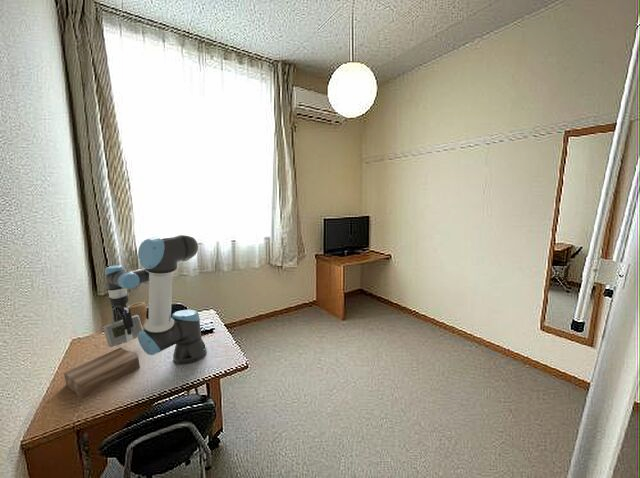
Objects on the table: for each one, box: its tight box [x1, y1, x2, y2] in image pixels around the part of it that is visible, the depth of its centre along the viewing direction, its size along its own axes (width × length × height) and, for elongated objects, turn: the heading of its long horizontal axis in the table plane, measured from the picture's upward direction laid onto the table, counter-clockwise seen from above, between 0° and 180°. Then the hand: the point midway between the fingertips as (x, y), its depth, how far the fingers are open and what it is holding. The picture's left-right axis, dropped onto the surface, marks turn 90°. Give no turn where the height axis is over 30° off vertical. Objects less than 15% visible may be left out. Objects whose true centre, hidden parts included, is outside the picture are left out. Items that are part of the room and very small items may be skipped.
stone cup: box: [127, 301, 148, 330], centre depth 170 cm, size 15×12×15 cm
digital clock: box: [103, 315, 144, 348], centre depth 144 cm, size 16×9×11 cm, turn 134°
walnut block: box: [63, 347, 141, 399], centre depth 125 cm, size 16×22×6 cm
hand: (125, 338), depth 145 cm, fingers closed on digital clock, 7 cm apart
